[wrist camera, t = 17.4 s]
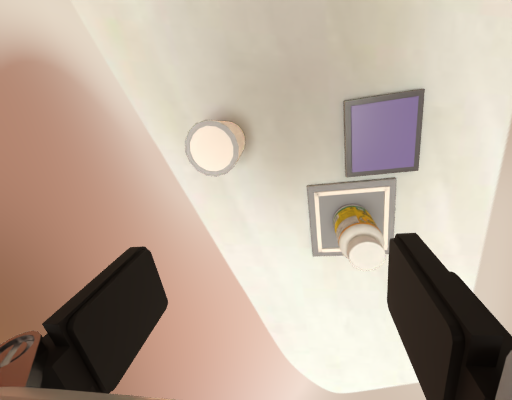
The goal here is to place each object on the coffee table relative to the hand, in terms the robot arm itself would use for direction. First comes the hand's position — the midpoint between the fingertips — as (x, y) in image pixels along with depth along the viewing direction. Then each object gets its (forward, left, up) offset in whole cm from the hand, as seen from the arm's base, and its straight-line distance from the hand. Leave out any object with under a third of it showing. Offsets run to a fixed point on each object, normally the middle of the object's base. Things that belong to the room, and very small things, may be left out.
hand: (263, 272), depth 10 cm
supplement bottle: (+12, +8, -28) cm, 31 cm away
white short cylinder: (-2, -9, -28) cm, 30 cm away
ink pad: (0, +12, -28) cm, 31 cm away
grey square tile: (+12, +8, -28) cm, 32 cm away
